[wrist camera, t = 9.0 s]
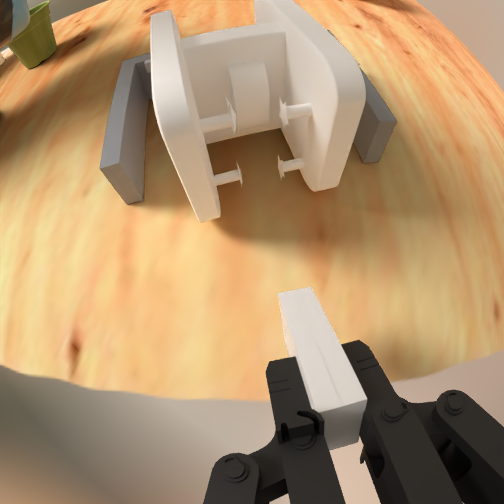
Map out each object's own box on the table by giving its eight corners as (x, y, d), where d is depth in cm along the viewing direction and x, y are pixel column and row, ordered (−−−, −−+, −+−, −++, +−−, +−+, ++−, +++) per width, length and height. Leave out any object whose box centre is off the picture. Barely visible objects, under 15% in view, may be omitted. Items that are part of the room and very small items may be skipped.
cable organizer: (177, 105, 27) (148, 5, 16) (279, 83, 27) (280, -17, 16) (202, 236, 21) (147, 116, 10) (341, 201, 22) (387, 77, 11)
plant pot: (60, 58, 35) (37, 12, 25) (11, 86, 35) (-14, 47, 24) (73, 33, 39) (56, -7, 29) (29, 57, 39) (9, 22, 28)
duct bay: (136, 95, 28) (122, 61, 23) (324, 65, 28) (329, 29, 24) (126, 204, 22) (99, 168, 18) (378, 161, 23) (396, 121, 18)
